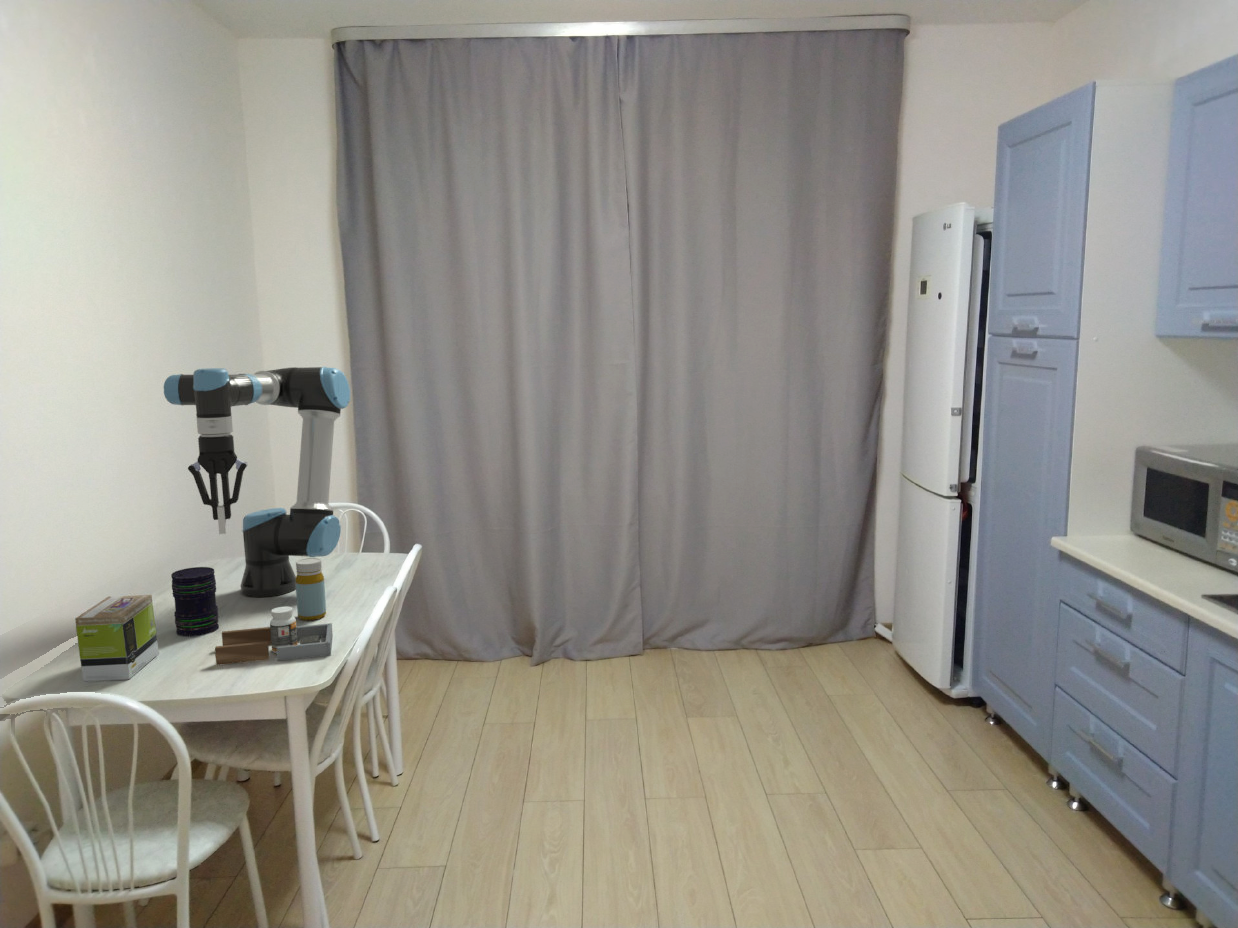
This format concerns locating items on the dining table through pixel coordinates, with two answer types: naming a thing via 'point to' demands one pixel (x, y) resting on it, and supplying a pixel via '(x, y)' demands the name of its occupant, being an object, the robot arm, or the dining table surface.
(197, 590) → the dark blue canister
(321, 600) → the bottle
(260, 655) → the slot
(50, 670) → the dining table surface
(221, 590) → the dining table surface
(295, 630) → the pill bottle
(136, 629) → the tea box
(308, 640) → the grey square block
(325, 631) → the frame
